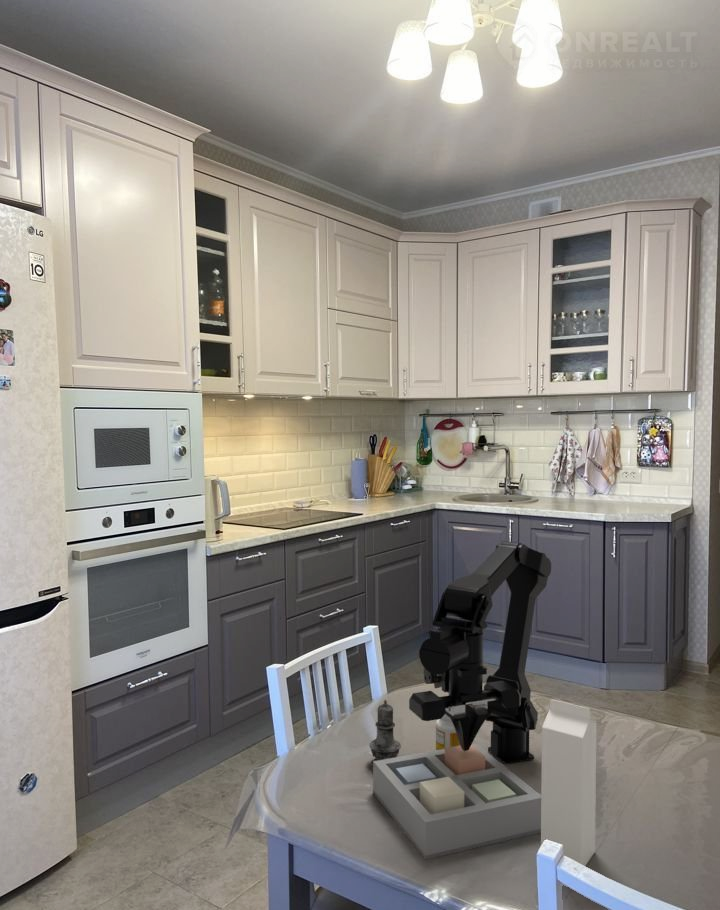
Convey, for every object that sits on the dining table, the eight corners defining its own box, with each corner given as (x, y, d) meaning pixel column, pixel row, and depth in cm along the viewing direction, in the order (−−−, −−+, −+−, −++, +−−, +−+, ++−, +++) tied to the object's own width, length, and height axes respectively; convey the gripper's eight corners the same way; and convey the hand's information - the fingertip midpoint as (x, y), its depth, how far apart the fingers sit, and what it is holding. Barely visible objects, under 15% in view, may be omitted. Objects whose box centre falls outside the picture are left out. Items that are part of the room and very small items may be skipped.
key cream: (448, 803, 108) (448, 776, 108) (464, 819, 103) (464, 791, 103) (419, 808, 106) (419, 782, 106) (434, 825, 101) (434, 797, 101)
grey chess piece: (398, 773, 124) (398, 706, 123) (366, 769, 125) (366, 704, 125) (402, 758, 129) (403, 695, 129) (372, 755, 130) (372, 692, 130)
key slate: (422, 788, 117) (422, 763, 116) (436, 802, 112) (436, 777, 112) (395, 793, 115) (395, 768, 115) (408, 808, 110) (408, 782, 110)
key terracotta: (470, 767, 120) (470, 743, 120) (485, 780, 115) (485, 756, 115) (444, 772, 118) (444, 748, 118) (458, 785, 113) (459, 760, 113)
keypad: (475, 773, 124) (476, 743, 123) (542, 832, 105) (543, 797, 105) (373, 792, 116) (373, 761, 116) (425, 859, 98) (425, 822, 98)
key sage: (498, 805, 111) (498, 779, 111) (516, 820, 107) (516, 794, 106) (471, 810, 109) (471, 784, 109) (488, 827, 105) (488, 799, 105)
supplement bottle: (466, 756, 130) (467, 705, 130) (461, 769, 125) (462, 716, 125) (439, 752, 132) (439, 702, 132) (432, 764, 127) (433, 712, 127)
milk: (555, 838, 103) (556, 692, 103) (595, 852, 100) (597, 701, 100) (539, 857, 99) (541, 704, 98) (581, 873, 95) (583, 714, 95)
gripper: (488, 640, 127) (487, 723, 127) (396, 650, 120) (395, 738, 121) (522, 658, 117) (522, 748, 117) (424, 670, 110) (423, 766, 110)
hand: (465, 749), depth 117 cm, fingers closed
